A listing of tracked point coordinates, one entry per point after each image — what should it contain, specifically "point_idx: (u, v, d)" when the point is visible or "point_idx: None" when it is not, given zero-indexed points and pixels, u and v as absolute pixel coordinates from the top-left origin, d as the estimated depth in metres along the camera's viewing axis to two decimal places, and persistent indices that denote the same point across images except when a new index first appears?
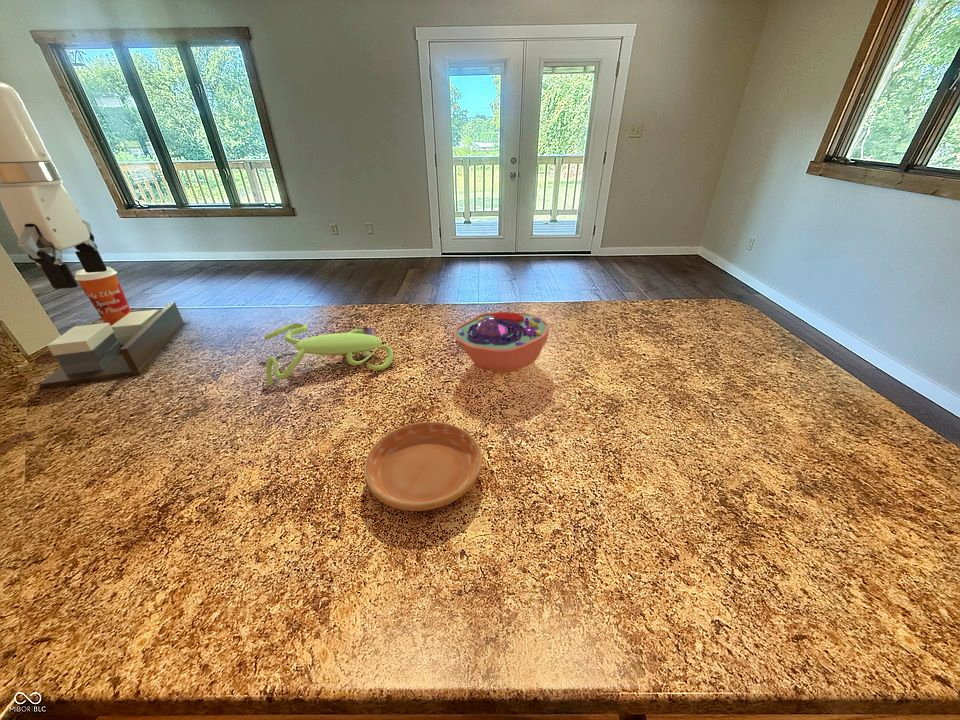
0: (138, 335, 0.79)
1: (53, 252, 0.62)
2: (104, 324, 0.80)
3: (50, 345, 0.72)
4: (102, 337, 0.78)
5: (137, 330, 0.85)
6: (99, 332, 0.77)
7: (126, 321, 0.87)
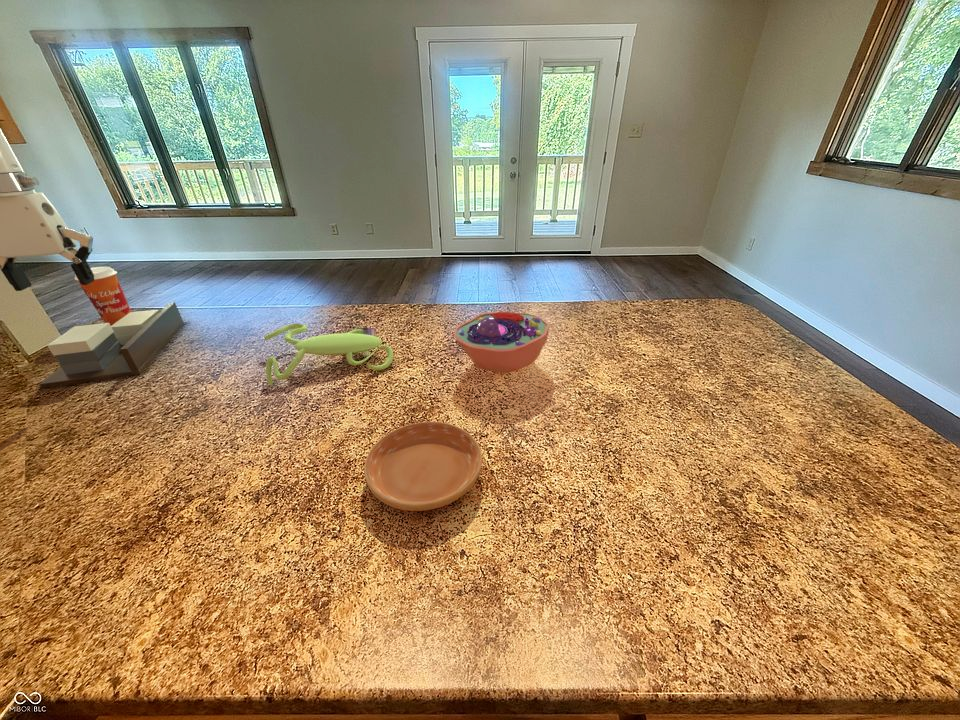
0: (138, 335, 0.79)
1: None
2: (104, 324, 0.80)
3: (50, 345, 0.72)
4: (102, 337, 0.78)
5: (137, 330, 0.85)
6: (99, 332, 0.77)
7: (126, 321, 0.87)
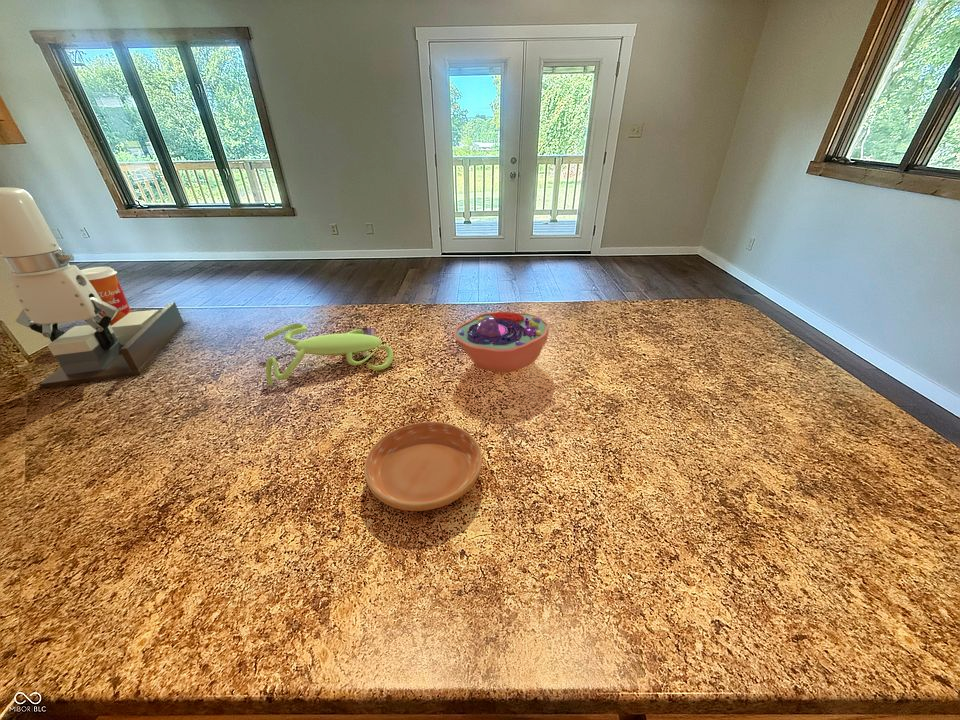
0: (138, 335, 0.79)
1: (43, 327, 0.73)
2: None
3: (50, 345, 0.72)
4: None
5: (137, 330, 0.85)
6: None
7: (126, 321, 0.87)
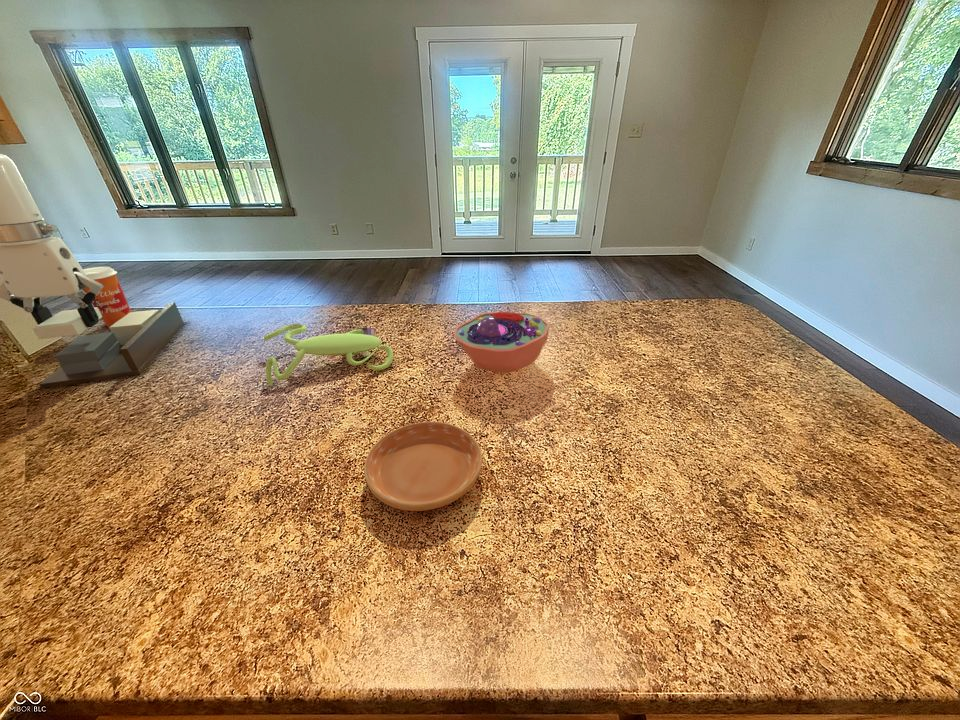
0: (138, 335, 0.79)
1: (24, 302, 0.70)
2: None
3: (35, 328, 0.70)
4: None
5: (137, 330, 0.85)
6: None
7: (126, 321, 0.87)
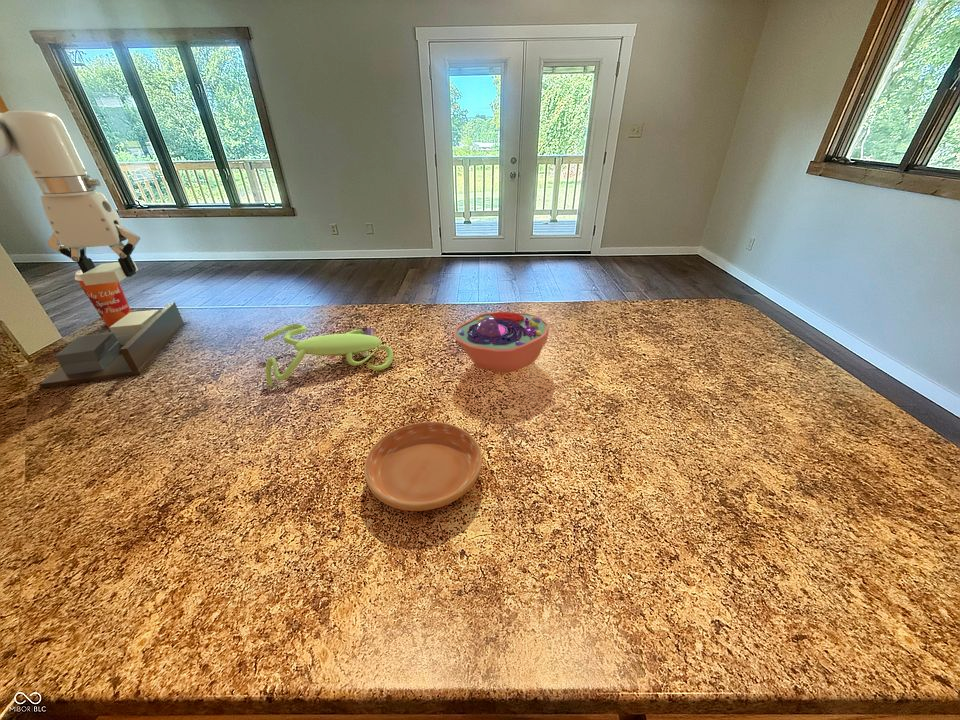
0: (138, 335, 0.79)
1: (71, 251, 0.78)
2: None
3: (82, 275, 0.78)
4: None
5: (137, 330, 0.85)
6: None
7: (126, 321, 0.87)
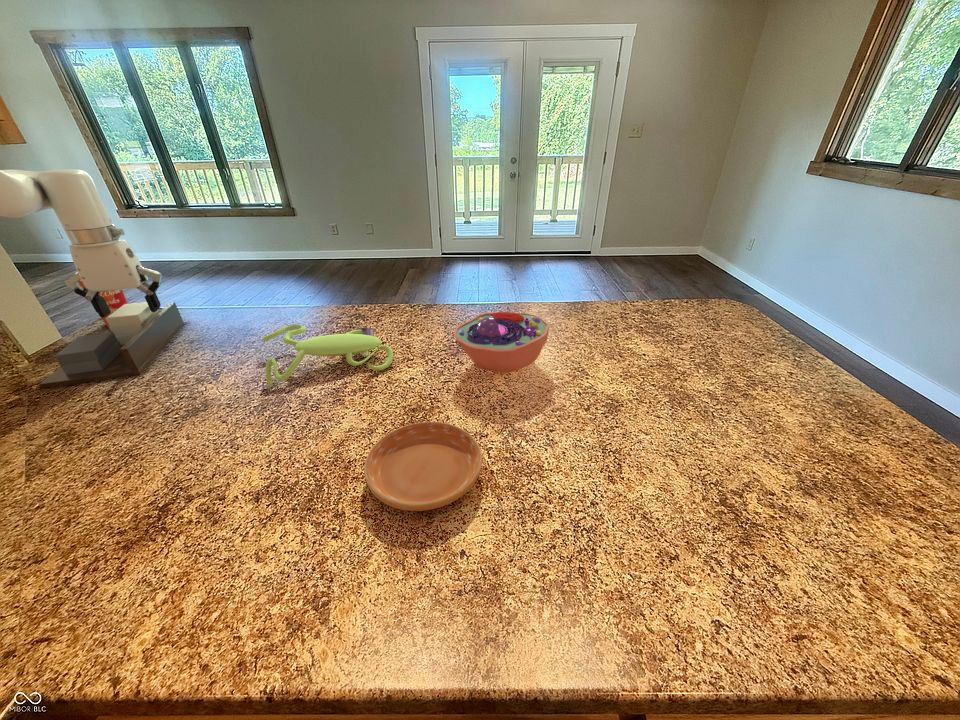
0: (138, 335, 0.79)
1: (88, 291, 0.82)
2: None
3: (108, 318, 0.83)
4: (150, 313, 0.89)
5: (137, 330, 0.85)
6: (148, 309, 0.88)
7: None
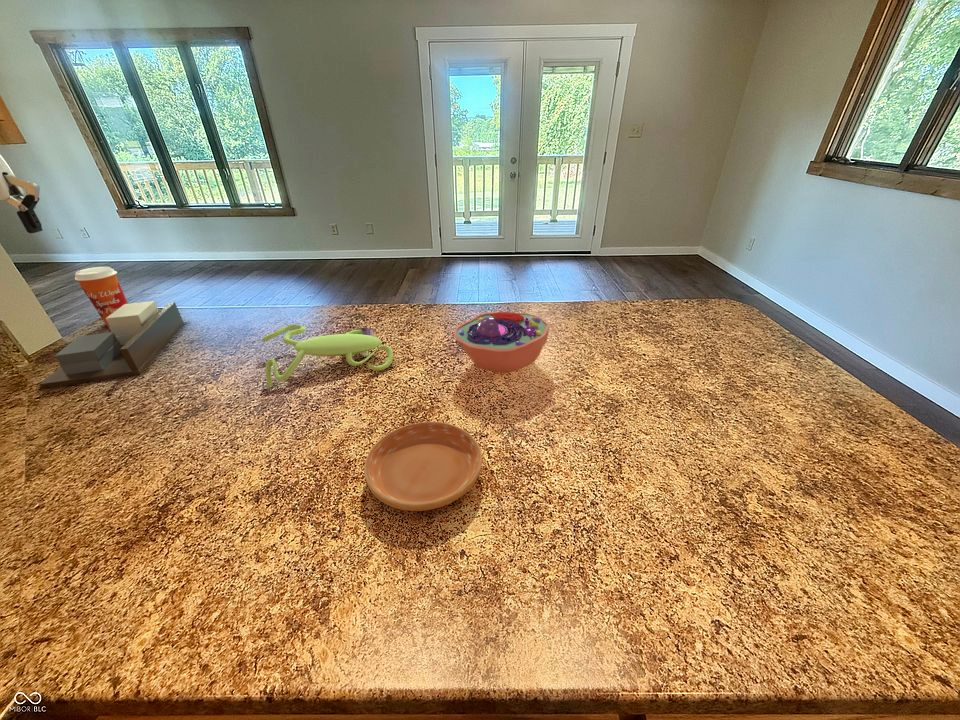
0: (138, 335, 0.79)
1: None
2: (150, 302, 0.91)
3: (108, 318, 0.83)
4: (150, 313, 0.89)
5: (137, 330, 0.85)
6: (148, 309, 0.88)
7: None
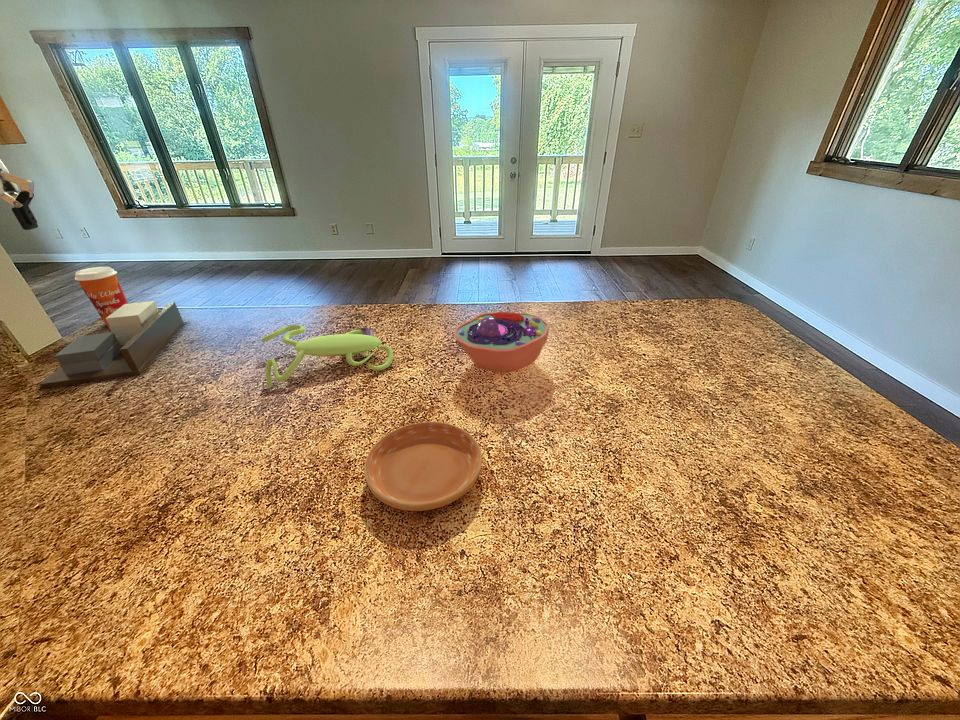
0: (138, 335, 0.79)
1: None
2: (150, 302, 0.91)
3: (108, 318, 0.83)
4: (150, 313, 0.89)
5: (137, 330, 0.85)
6: (148, 309, 0.88)
7: None
